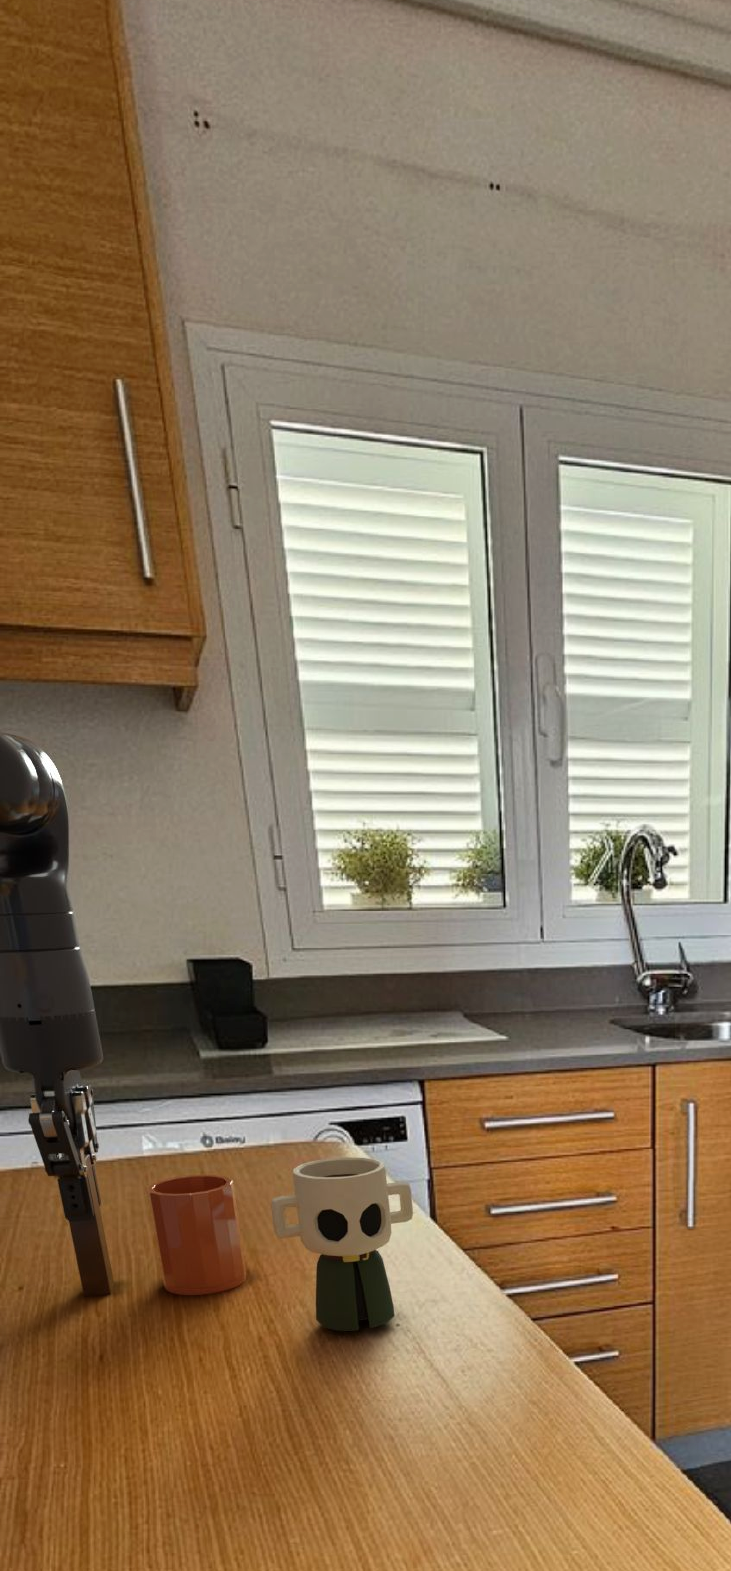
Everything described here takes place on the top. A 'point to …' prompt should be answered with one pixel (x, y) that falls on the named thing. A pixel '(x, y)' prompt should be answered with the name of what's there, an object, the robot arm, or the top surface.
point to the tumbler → (197, 1234)
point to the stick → (92, 1246)
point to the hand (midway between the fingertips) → (84, 1213)
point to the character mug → (345, 1235)
